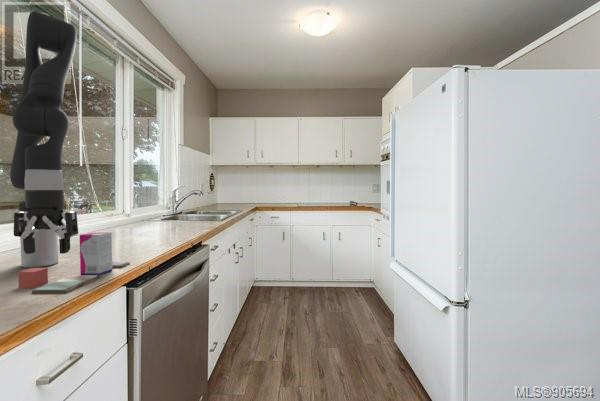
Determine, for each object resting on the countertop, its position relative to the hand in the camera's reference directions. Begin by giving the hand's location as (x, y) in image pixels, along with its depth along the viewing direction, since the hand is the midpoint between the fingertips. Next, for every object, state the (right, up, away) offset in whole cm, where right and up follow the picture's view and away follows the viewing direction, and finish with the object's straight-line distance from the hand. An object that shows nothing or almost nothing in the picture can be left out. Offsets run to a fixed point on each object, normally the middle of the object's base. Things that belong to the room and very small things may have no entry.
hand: (47, 253), depth 80 cm
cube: (-2, -6, 0) cm, 6 cm away
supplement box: (+5, -8, +12) cm, 15 cm away
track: (+5, -8, +8) cm, 12 cm away
